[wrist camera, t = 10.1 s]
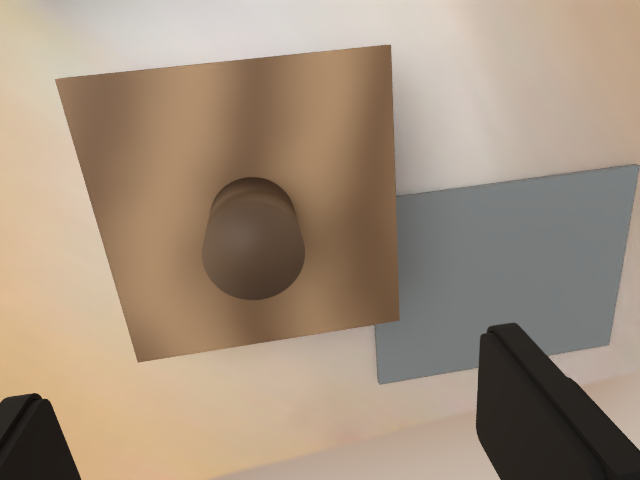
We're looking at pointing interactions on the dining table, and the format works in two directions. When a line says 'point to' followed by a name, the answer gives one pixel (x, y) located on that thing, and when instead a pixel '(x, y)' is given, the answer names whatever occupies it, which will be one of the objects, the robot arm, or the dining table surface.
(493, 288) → the mat
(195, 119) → the lid
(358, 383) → the dining table surface
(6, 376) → the dining table surface
